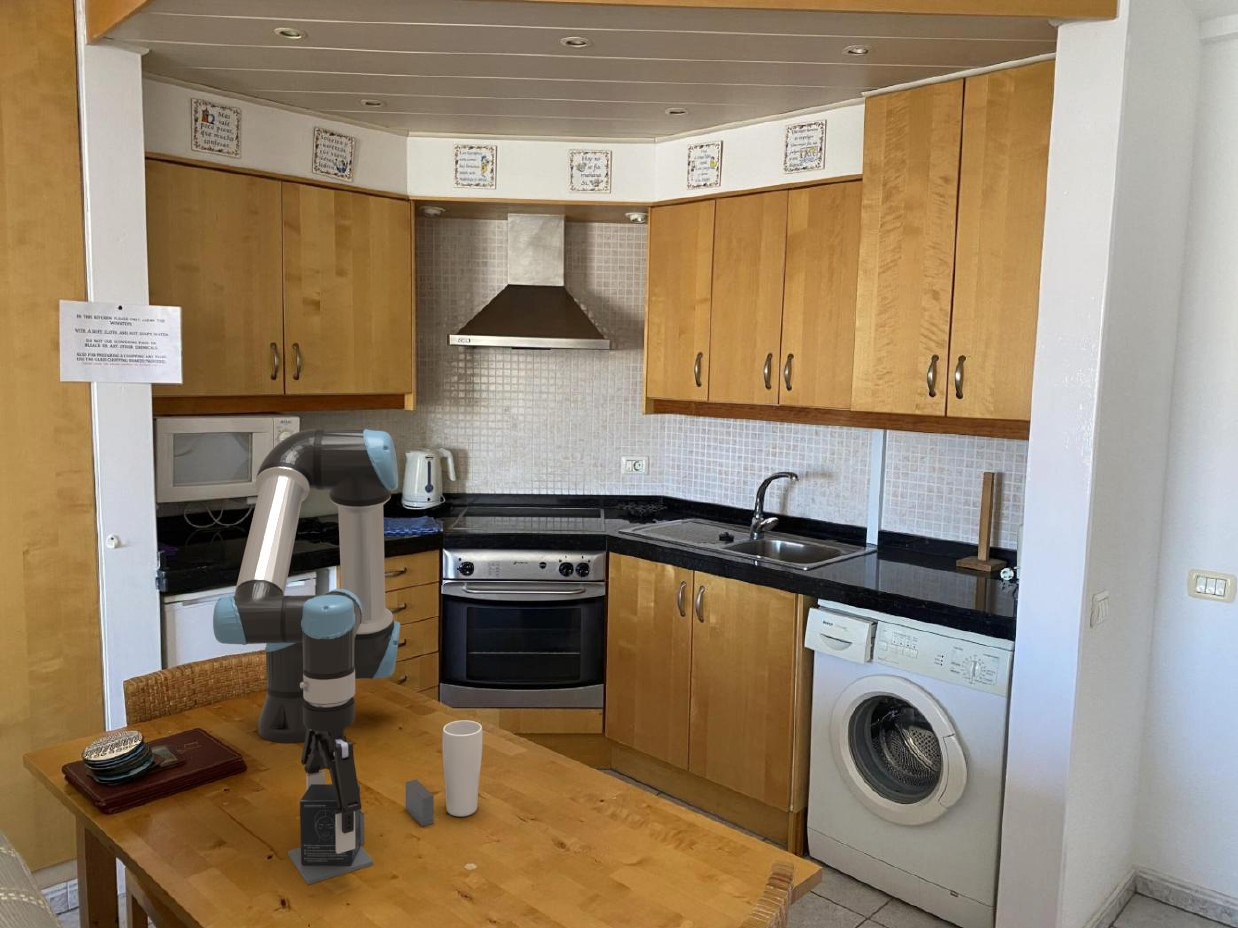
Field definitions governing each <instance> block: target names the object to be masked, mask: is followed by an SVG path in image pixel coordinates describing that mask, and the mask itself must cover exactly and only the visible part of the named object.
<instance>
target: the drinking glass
mask: <svg viewBox="0 0 1238 928" xmlns="http://www.w3.org/2000/svg"><path fill="white" fill-rule="evenodd" d="M441 744H442V761H443V762H442V763H443V774H444V785H445V798H446V799H445V807H446V811H447V813H448V814H449V815H450V816H453V817H468V816H470V815H473V814H474V813H476V811H477V809H478V804H479V803H478V802H479V801H478V797H479V796H478V795H479V785H480V776H481V775H480V774H481V768H482V767H481V766H482V765H481V764H482V756H483V726H482V725H481V724H480V723H479V722H476V721H474V720H466V719H465V720H461V719H460V720H456V721H451V722H449V723H447V724H445V725H444V726H443V728H442V743H441Z"/></svg>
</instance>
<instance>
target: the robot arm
mask: <svg viewBox="0 0 1238 928" xmlns="http://www.w3.org/2000/svg"><path fill="white" fill-rule="evenodd" d="M397 459H398V458H397V454H396V449H395V444H394V441H393V438H392V436H391V435H390V434H389V433H388V432H386V431H384V430H371V429H367V428H365V429H318V428H317V429H315V428H309V429H305V430H300V431H298V432H296V433H293V434H291V435H290V436H288V437H286V438H284V439H283V440H281V441H280V442H279V443H278V444H277V445H275V446H274V447H273V448H272V449H271V450H270V451H269V453H268V454H267V455H266V456H265V458H264V459H263V461H262V462H261V464H260V466H259V467H258V470H257V474H256V477H255V478H256V479H255V482H254V486H255V487H254V488H255V491H256V493H257V494H258V495H257V499H256V503H255V508H254V511H253V517H252V519H251V520H252V521H251V524H250V528H249V532H248V533H249V534H248V536H247V540H246V545H245V549H244V553H243V557H242V562H241V565H240V570H239V575H238V577H237V578H238V579H237V583H236V587H235V590H234V591H235V593H234V595H227V596H221V597H220V598H218V600H217V602H216V603H215V604H214V608H213V609H214V610H213V614H212V615H213V616H212V627H213V628H212V630H213V633H214V634H213V635H214V638H215V639H216V641H217V642H218V643H221V644H225V645H241V646H242V645H243V646H245V645H256V644H258V645H259V644H261V645H262V644H265V648H264V651H265V656H266V658H265V661H266V663H265V665H266V666H265V667H266V669H265V670H266V696H265V701H264V703H263V706H262V708H261V709H262V710H261V713H260V715H259V719H258V723H257V724H258V728H257V729H258V730H257V732H258V735H259V736H260V737H261V738H262V739H264V740H267V741H269V742H275V743H300V742H304V743H303V748H302V752H301V753H302V754H301V760H300V763H301V766H304V771H305V773H306V777H305V781H306V784H305V785H306V787H305V788H306V791H307V790H308V788H309V787H310V785H311V784H326V775H325V774H326V773H325V771H324V770H328V772H329V775H330V776H329V777H330V780H331V784H333V789H334V793H335V798H336V802H337V806H338V809H335V810H334V814H335V819H336V853H337V854H339V853H342V852H346V851H349V850H352V849H355V811H358V810H361V811H362V806H363V805H362V801H361V793H360V794H359V788H358V784H359V782H358V776H357V771H356V765H355V758H354V743H353V741H351V740H350V741H347V736H346V735H345V733H344V731H345V730H346V729H347V728H348V727H350V726H351V725H352V724H353V723H354V722H355V719H356V714H355V713H356V707H355V706H356V704H355V703H356V700H355V697H354V696H355V694H356V680H361V679H363V680H365V679H366V680H367V679H369V680H375V679H383V678H389V677H391V676H392V675H393V673H395V669H396V662H397V655H398V645H399V639H400V634H401V633H400V631H401V623H400V622H399V621H396V620H394V614H393V613H392V611H391V610H389V609H388V608H387V607H386V582H385V581H386V580H385V579H386V577H385V576H386V574H385V573H386V572H385V569H386V568H385V538H384V537H385V535H384V534H385V531H384V526H385V525H384V522H385V521H384V505H385V504H386V503H387V502H388V501H390V499H391V497H392V492H394V491H396V490H397V489H398V487H399V472H398V460H397ZM312 490H314V491H315V490H317V491H329V492H328V493H329V500H330V502H331V503H333V504H334V505H335V506H336V507H337V510H338V513H337V514H338V531H339V533H338V535H339V559H340V561H339V562H340V581H341V582H340V585H341V586H340V587H341V588H334V589H332V590H329V591H327V592H326V593H323V594H315V595H313V594H311V595H310V594H308V595H307V594H306V595H305V594H303V595H302V594H301V595H285V593H286V589H287V588H286V587H287V583H288V577H289V576H288V575H289V573H290V572H289V571H290V566H291V561H292V556H293V549H294V546H295V539H296V533H297V529H298V524H299V518H300V513H301V507H302V502H303V501H305V500H306V499H307V498H308V496H309V493H310V491H312Z"/></svg>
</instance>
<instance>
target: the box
mask: <svg viewBox="0 0 1238 928" xmlns="http://www.w3.org/2000/svg"><path fill="white" fill-rule="evenodd" d="M358 788H359V794H360V795H361V784H359V783H358ZM335 809H338V806H337V802H336V798H335V793H334V789H333V784H332V783H331V784H327V783H325V784H311V785H310V787H309V788H308V790H307V789H306V791H305V793H304V794H303V795H302V797H301V798H300V800H299V824H300V829H299V830H300V833H299V834H300V847H301V864H302V865H352V863H353V861H354V859H355V857H356V855H357V853H358V851H359V849H360V846H362V845H361V826H360V810H358V811H355V849H352V850H349V851H346V852H342V853H339V854H337V853H336V819H335V814H334V810H335Z"/></svg>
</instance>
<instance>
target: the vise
mask: <svg viewBox="0 0 1238 928" xmlns="http://www.w3.org/2000/svg"><path fill="white" fill-rule="evenodd" d="M434 800H435V799H434V794H433V793H432V792H430V791H429V790H428V788H426V787H425V786H424V784H422V783H421V782H420V781H419V780H418V779H417V778H416V779H412V780H408V781H405V811H406V812H407V813H408V814H409V815H410V816H411V817H412V819H414V820H415V821H416V822H417V823H418V824H419V825H420V826H421V827H422V828H423V827H427V826H431V825H433V824H434V822H435V821H434V817H435V816H434V812H435V811H434V808H435V807H434V806H435V805H434V802H435V801H434ZM360 826H361V846H362V845H365V813H364V812H362V809H361V810H360Z"/></svg>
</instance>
